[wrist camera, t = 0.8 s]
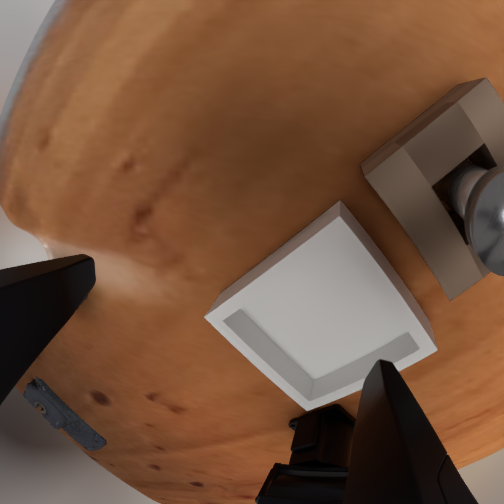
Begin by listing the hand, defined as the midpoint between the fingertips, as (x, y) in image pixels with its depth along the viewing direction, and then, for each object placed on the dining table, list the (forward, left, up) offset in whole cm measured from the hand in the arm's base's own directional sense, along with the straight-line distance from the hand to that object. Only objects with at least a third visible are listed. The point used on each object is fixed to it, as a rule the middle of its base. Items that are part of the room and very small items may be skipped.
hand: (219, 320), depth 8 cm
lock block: (-5, -9, -14) cm, 17 cm away
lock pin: (-5, -9, -14) cm, 17 cm away
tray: (-8, +4, -14) cm, 16 cm away
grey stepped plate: (-3, +69, -14) cm, 71 cm away
